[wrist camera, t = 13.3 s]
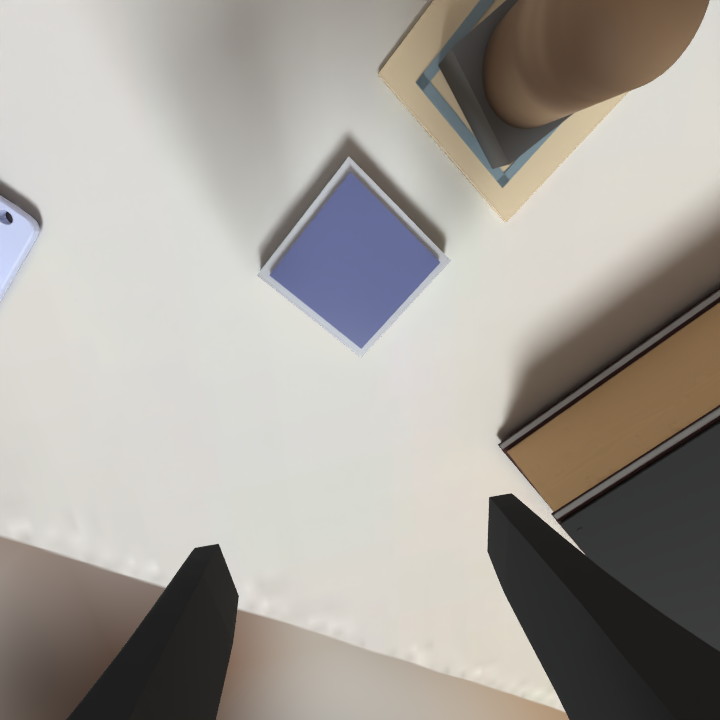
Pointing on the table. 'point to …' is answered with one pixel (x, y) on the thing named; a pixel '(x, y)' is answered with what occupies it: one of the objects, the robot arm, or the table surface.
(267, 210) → the table surface
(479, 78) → the stamp
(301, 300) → the ink pad
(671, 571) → the book
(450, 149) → the print card
